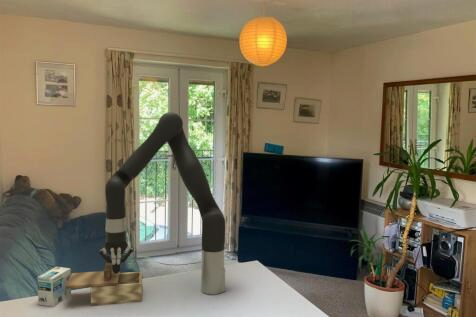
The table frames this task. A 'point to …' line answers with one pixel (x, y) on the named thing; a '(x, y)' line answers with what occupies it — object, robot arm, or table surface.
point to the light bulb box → (53, 286)
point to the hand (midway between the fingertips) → (116, 272)
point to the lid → (93, 278)
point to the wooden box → (119, 290)
